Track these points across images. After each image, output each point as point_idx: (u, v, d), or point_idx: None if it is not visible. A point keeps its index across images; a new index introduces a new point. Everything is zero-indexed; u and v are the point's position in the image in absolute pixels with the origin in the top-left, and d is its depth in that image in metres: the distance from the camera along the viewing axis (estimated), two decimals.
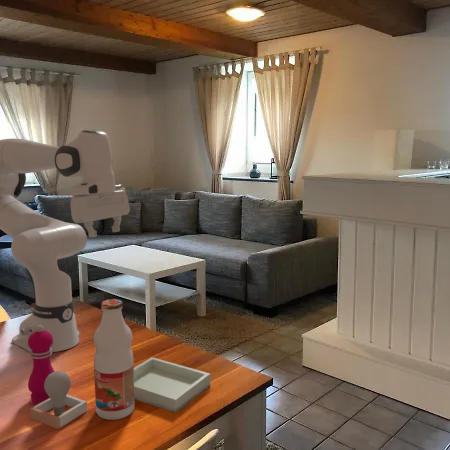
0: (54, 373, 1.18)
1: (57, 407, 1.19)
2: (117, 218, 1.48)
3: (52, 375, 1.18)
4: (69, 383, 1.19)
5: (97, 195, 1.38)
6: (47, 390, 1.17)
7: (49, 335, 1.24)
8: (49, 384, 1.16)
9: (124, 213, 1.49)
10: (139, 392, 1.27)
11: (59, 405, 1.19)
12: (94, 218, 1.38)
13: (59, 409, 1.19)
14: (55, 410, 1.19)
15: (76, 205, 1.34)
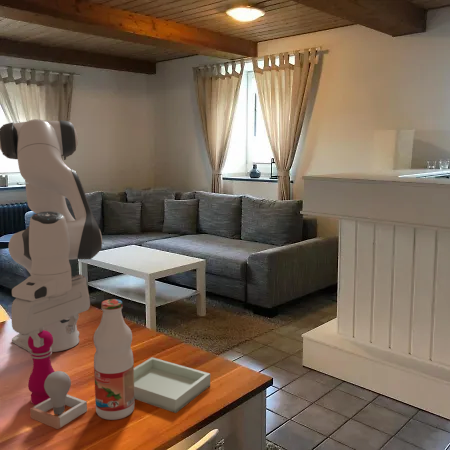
0: (54, 373, 1.18)
1: (57, 407, 1.19)
2: (73, 317, 1.20)
3: (52, 375, 1.18)
4: (69, 383, 1.19)
5: (46, 298, 1.10)
6: (47, 390, 1.17)
7: (49, 335, 1.24)
8: (49, 384, 1.16)
9: (82, 310, 1.21)
10: (139, 392, 1.27)
11: (59, 405, 1.19)
12: (41, 325, 1.11)
13: (59, 409, 1.19)
14: (55, 410, 1.19)
15: (18, 312, 1.07)
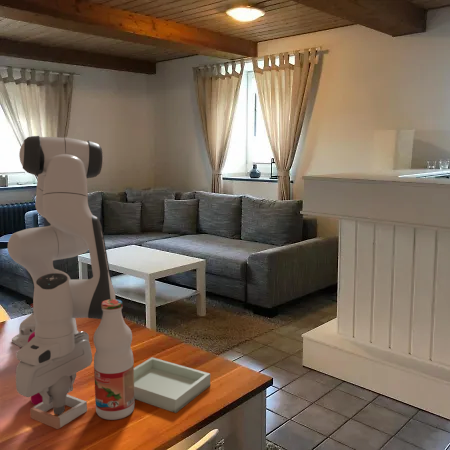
0: None
1: (57, 407, 1.19)
2: (71, 376, 1.22)
3: None
4: (69, 383, 1.19)
5: (50, 360, 1.13)
6: None
7: None
8: None
9: (84, 367, 1.24)
10: (139, 392, 1.27)
11: (59, 405, 1.19)
12: (44, 387, 1.14)
13: (59, 409, 1.19)
14: (55, 410, 1.19)
15: (22, 376, 1.10)
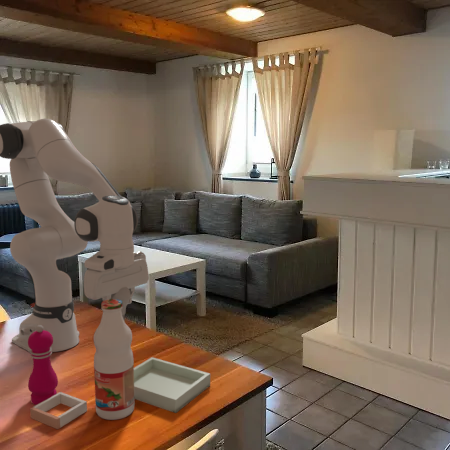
0: None
1: None
2: (130, 289, 1.36)
3: None
4: (129, 294, 1.33)
5: (113, 269, 1.28)
6: None
7: (49, 335, 1.24)
8: None
9: (142, 283, 1.38)
10: (139, 392, 1.27)
11: None
12: (108, 293, 1.28)
13: None
14: None
15: (89, 281, 1.25)
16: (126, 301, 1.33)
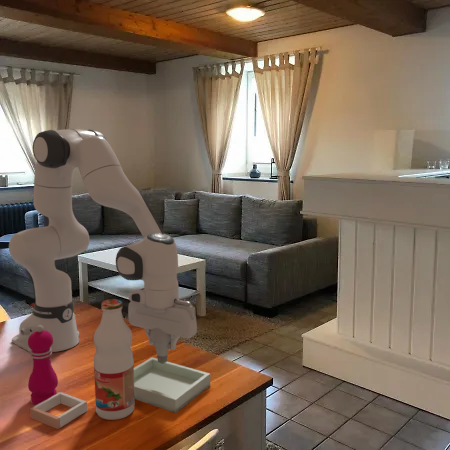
0: None
1: None
2: None
3: None
4: (159, 338, 1.27)
5: (142, 305, 1.29)
6: None
7: (49, 335, 1.24)
8: None
9: (180, 335, 1.25)
10: (139, 392, 1.27)
11: (156, 353, 1.31)
12: (142, 326, 1.31)
13: (157, 356, 1.31)
14: None
15: None
16: (156, 343, 1.28)
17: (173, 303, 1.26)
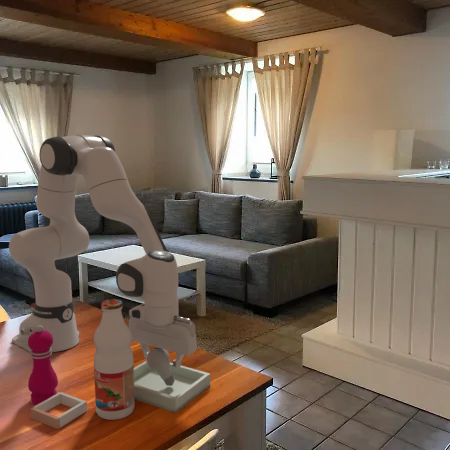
0: (152, 349, 1.33)
1: (163, 379, 1.32)
2: None
3: None
4: (154, 361, 1.29)
5: (142, 321, 1.30)
6: None
7: (49, 335, 1.24)
8: None
9: (180, 352, 1.26)
10: (139, 392, 1.27)
11: (161, 378, 1.32)
12: (142, 341, 1.32)
13: None
14: None
15: None
16: (154, 368, 1.30)
17: (173, 320, 1.27)
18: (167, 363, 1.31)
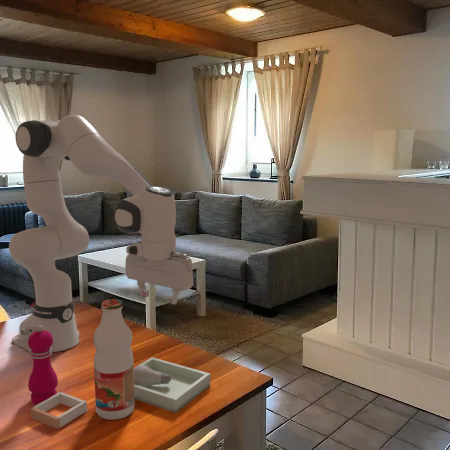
0: None
1: None
2: None
3: None
4: (138, 382, 1.29)
5: (139, 257, 1.29)
6: None
7: (49, 335, 1.24)
8: None
9: (177, 288, 1.26)
10: (139, 392, 1.27)
11: (158, 384, 1.32)
12: (139, 279, 1.32)
13: (162, 383, 1.32)
14: None
15: None
16: (144, 385, 1.30)
17: (170, 256, 1.27)
18: (148, 372, 1.31)
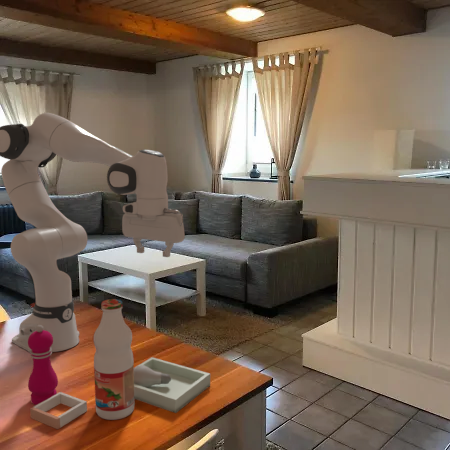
0: None
1: None
2: None
3: None
4: (138, 382, 1.29)
5: (135, 215, 1.41)
6: None
7: (49, 335, 1.24)
8: None
9: (169, 241, 1.38)
10: (139, 392, 1.27)
11: (158, 384, 1.32)
12: (135, 236, 1.44)
13: (162, 383, 1.32)
14: None
15: None
16: (144, 385, 1.30)
17: (163, 212, 1.39)
18: (148, 372, 1.31)
